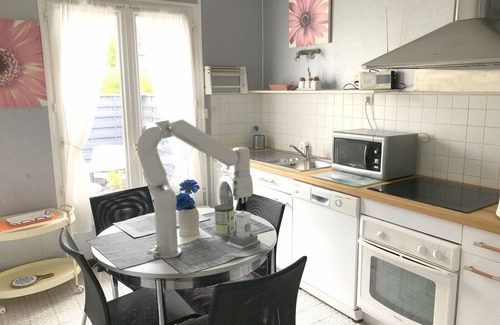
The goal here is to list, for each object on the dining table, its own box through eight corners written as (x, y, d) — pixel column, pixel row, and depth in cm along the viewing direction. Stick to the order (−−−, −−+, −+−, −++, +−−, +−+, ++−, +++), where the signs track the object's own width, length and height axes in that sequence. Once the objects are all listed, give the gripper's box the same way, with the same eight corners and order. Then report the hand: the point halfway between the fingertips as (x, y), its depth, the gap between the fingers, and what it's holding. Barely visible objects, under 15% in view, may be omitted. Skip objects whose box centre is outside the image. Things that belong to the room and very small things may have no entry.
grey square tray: (243, 246, 196) (243, 240, 196) (228, 241, 203) (228, 235, 203) (257, 240, 204) (257, 235, 203) (242, 236, 210) (242, 230, 210)
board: (240, 249, 195) (240, 247, 195) (225, 244, 202) (225, 242, 202) (260, 240, 205) (260, 239, 205) (245, 236, 212) (245, 235, 212)
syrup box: (240, 238, 207) (240, 210, 205) (251, 240, 204) (250, 212, 202) (234, 242, 202) (234, 213, 200) (245, 244, 199) (244, 215, 197)
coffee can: (216, 229, 223) (216, 204, 221) (235, 229, 222) (235, 204, 220) (213, 235, 213) (212, 209, 211) (233, 236, 212) (232, 209, 210)
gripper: (236, 176, 190) (237, 215, 193) (258, 171, 200) (258, 208, 204) (225, 174, 195) (226, 212, 198) (246, 169, 205) (247, 205, 209)
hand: (242, 210), depth 201 cm, fingers closed
